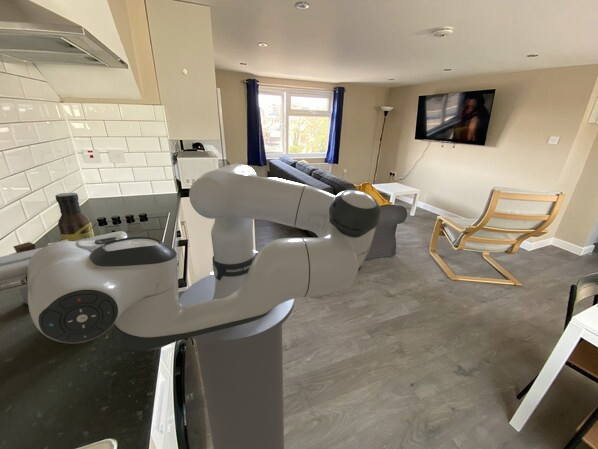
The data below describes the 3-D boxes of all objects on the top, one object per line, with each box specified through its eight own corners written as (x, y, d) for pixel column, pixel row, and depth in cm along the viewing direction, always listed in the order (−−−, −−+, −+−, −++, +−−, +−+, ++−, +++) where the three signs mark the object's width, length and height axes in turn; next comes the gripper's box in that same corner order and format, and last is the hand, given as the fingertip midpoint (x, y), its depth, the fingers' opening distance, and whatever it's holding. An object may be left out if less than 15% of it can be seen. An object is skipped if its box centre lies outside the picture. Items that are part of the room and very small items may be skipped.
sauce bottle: (97, 272, 67) (75, 196, 60) (67, 276, 65) (41, 198, 58) (106, 261, 72) (86, 190, 66) (79, 264, 71) (56, 192, 64)
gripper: (-26, 318, 35) (-16, 279, 45) (141, 266, 49) (122, 245, 58) (-47, 277, 33) (-32, 245, 42) (134, 235, 47) (116, 218, 56)
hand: (59, 245), depth 50 cm, fingers closed
